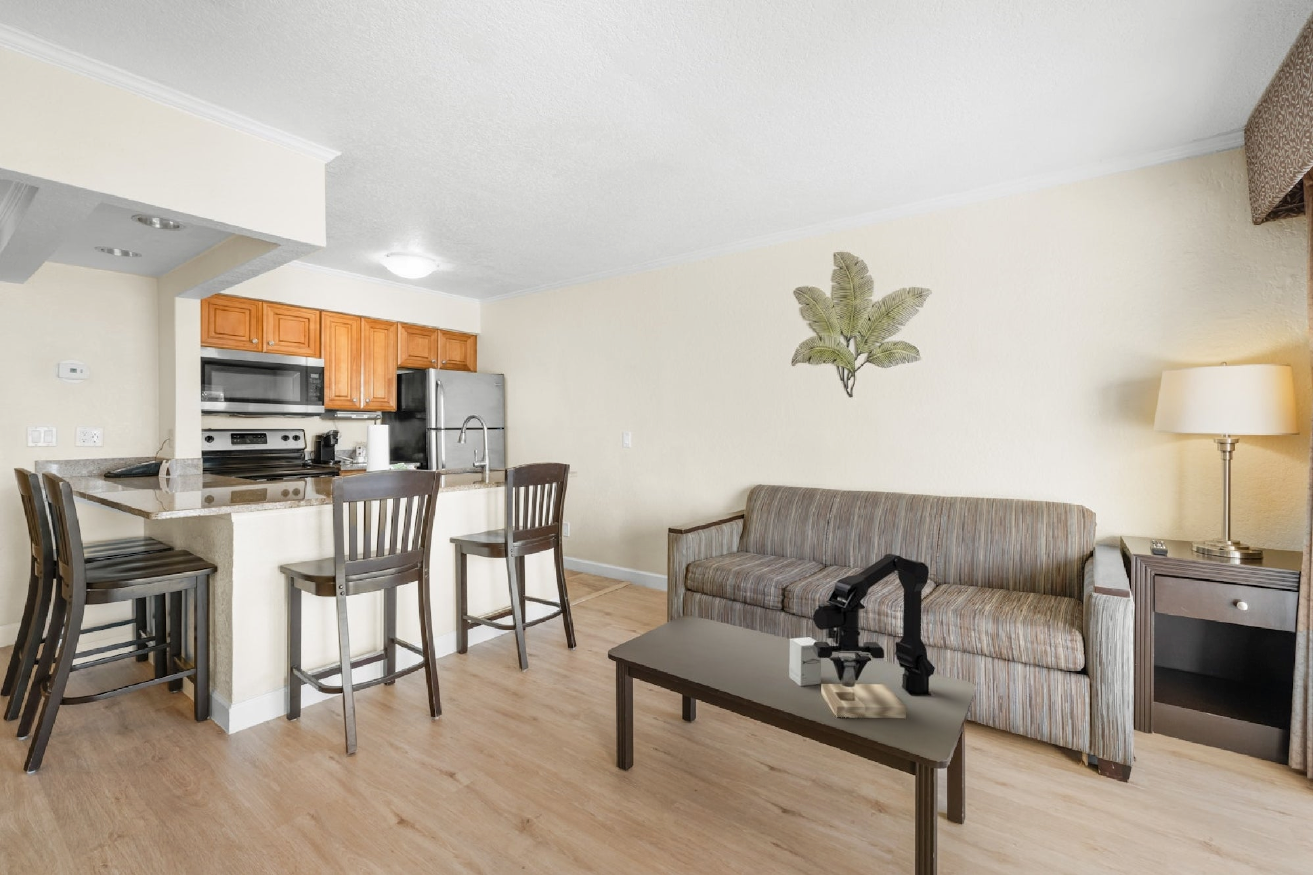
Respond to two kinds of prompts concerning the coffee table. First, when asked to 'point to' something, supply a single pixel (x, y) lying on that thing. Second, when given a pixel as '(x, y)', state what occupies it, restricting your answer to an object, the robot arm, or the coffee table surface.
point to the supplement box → (804, 662)
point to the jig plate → (863, 701)
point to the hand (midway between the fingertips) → (847, 679)
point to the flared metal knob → (848, 671)
